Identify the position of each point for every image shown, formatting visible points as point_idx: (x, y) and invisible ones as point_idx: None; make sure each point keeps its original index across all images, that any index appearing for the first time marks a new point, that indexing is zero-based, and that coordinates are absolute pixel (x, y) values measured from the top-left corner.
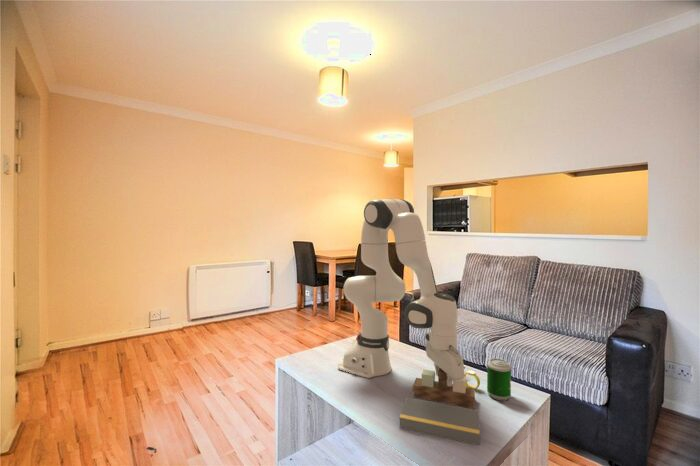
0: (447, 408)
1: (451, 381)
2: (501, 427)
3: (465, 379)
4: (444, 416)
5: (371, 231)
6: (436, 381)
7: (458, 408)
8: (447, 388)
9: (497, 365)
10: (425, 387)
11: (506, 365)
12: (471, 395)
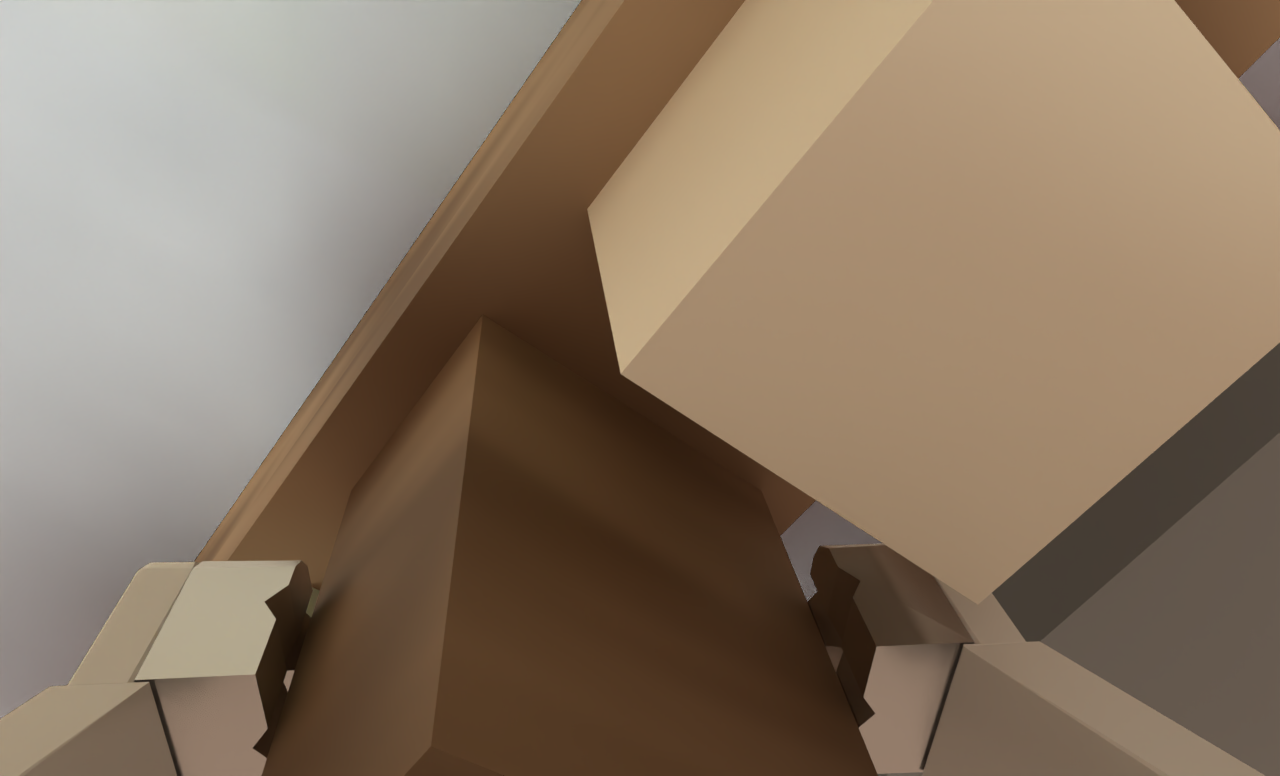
0: (1150, 653)
1: (1003, 649)
2: None
3: (1256, 123)
4: (1263, 754)
5: None
6: (256, 534)
7: (1258, 504)
8: (746, 498)
9: None
10: None
11: None
12: (1241, 24)
